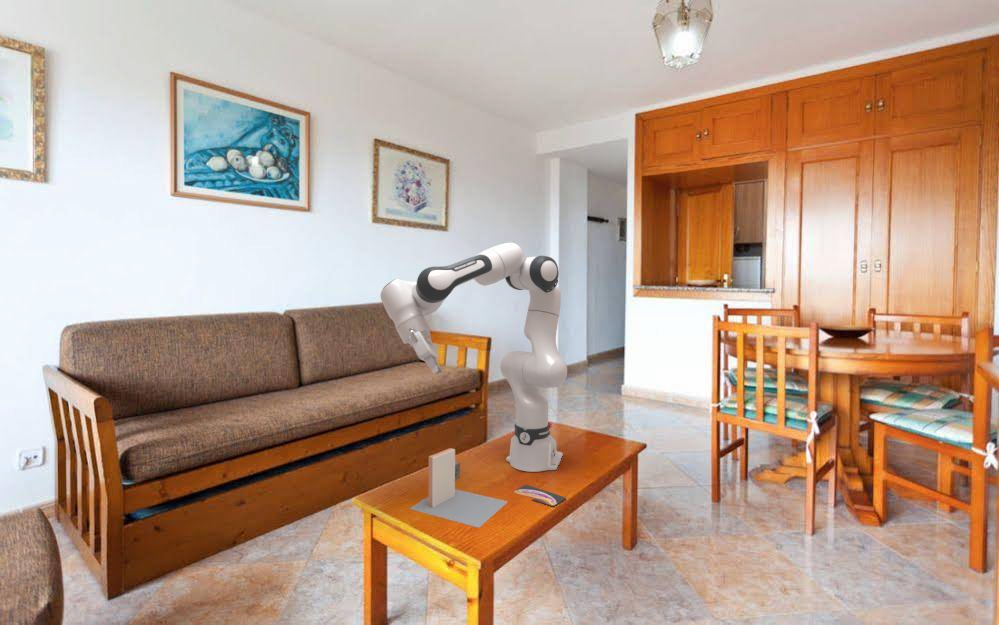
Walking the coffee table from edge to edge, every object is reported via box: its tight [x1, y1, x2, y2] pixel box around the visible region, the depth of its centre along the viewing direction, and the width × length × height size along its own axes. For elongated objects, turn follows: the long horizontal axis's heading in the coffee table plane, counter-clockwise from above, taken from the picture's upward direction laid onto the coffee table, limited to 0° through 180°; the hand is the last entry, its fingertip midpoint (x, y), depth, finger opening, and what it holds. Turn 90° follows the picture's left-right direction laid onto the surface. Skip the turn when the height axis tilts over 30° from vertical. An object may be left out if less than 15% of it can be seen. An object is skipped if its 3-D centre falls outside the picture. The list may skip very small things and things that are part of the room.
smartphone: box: [513, 484, 567, 508], centre depth 147 cm, size 8×1×15 cm
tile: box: [427, 447, 456, 507], centre depth 142 cm, size 2×9×14 cm, turn 143°
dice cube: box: [455, 461, 461, 480], centre depth 159 cm, size 5×5×5 cm
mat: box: [409, 488, 508, 528], centre depth 140 cm, size 17×22×1 cm
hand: (437, 372), depth 142 cm, fingers open, 8 cm apart
